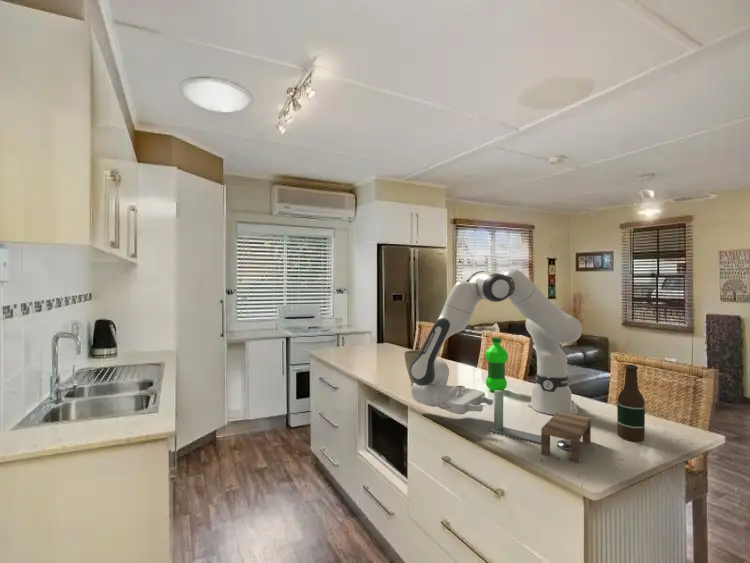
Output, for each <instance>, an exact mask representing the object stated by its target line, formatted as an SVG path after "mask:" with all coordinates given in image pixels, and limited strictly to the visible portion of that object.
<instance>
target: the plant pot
mask: <svg viewBox="0 0 750 563" xmlns="http://www.w3.org/2000/svg"><path fill="white" fill-rule="evenodd" d="M420 351H421V349H410V350H405V351H404V352H403V353H404V360H405V365H406V370H407V374H408V378H409V380H410V382H411V383H410V384H412V385H413V383H414V382H413V381H412V379H411V377H410V373H409V369H410V365H411V363H412V361H413V360H414V359H415V358H416V357H417V356H418V355H419V353H420Z"/></svg>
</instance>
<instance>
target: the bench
mask: <svg viewBox="0 0 750 563" xmlns="http://www.w3.org/2000/svg"><path fill="white" fill-rule="evenodd" d="M591 421H592V420H591V417H588V416H582V415H578V414H577V415H572V414H567V413H562V412H557V413H556V414H555V415H553V416H552V417H550V419H549V420H548V421H547V422H546V423H545V425H543V426H542V427H541V429H540V430H541V432H540V433H541V434H540V436H541V445H540V450H541V451H540V452H541V453H540V454H541V455H544V456H549V455H550V454H551V437H555V438H559V439H563V440H566V441H570V442H571V451H570V462H572V463H575V464H579V463H580V462H581V460H580V456H581V452H580V451H581V450H580V448H581V440H582V442H583V443H587V444H590V443H591V441H592V440H591V438H592V437H591V434H592V433H591V431H592V430H591V428H592V424H591V423H592V422H591Z"/></svg>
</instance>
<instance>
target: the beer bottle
mask: <svg viewBox="0 0 750 563" xmlns="http://www.w3.org/2000/svg"><path fill="white" fill-rule="evenodd" d="M624 369H625V370H624V371H625V373H624V375H625V376H624V385H623V389H622V390H621V391H620V393H619V395H618V396H617V404H616V405H617V410H616V411H617V415H616V416H617V419H616V420H617V423H616V424H617V426H616V427H617V428H616V430H617V436H618V437H619V438H620V439H622V440H625V441H630V442H640V443H641V442H643V441H644V439H645V434H646V431H645V430H646V428H645V427H646V426H645V424H646V421H645V420H646V417H645V416H646V413H645V412H646V404H645V399H644V396H643V394H642V393H641V392H640V390H639V385H638V384H639V383H638V381H639V380H638V369H639V368H638V366H637V365H636V364H625V365H624Z"/></svg>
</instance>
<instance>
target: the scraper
mask: <svg viewBox="0 0 750 563" xmlns="http://www.w3.org/2000/svg"><path fill="white" fill-rule="evenodd" d="M493 396H494V397H493V398H494V400H493V405H494V406H493V414H494V415H493V427H492V428H490V429H489V433H491V432H493V433H492V434H495V433H497V434H496V435H499V434H501V435H500V436H503V435H505V436H504V437H507V436H509V437H508V438H511V437H513V438H512V439H515V438H517V439H516V440H519V439H520V441H523V440H525V441H524V442H527V441H529V442H528V443H531V442H533V443H532V444H536V443H537V444H536V445H540V446H541V434H540V435H539V434H535V433H531V432H526V431H522V430H519V429H514V428H513V429H512V428H510V427H505V426H504V390H503V391H501V390H495V391H494V392H493Z"/></svg>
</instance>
